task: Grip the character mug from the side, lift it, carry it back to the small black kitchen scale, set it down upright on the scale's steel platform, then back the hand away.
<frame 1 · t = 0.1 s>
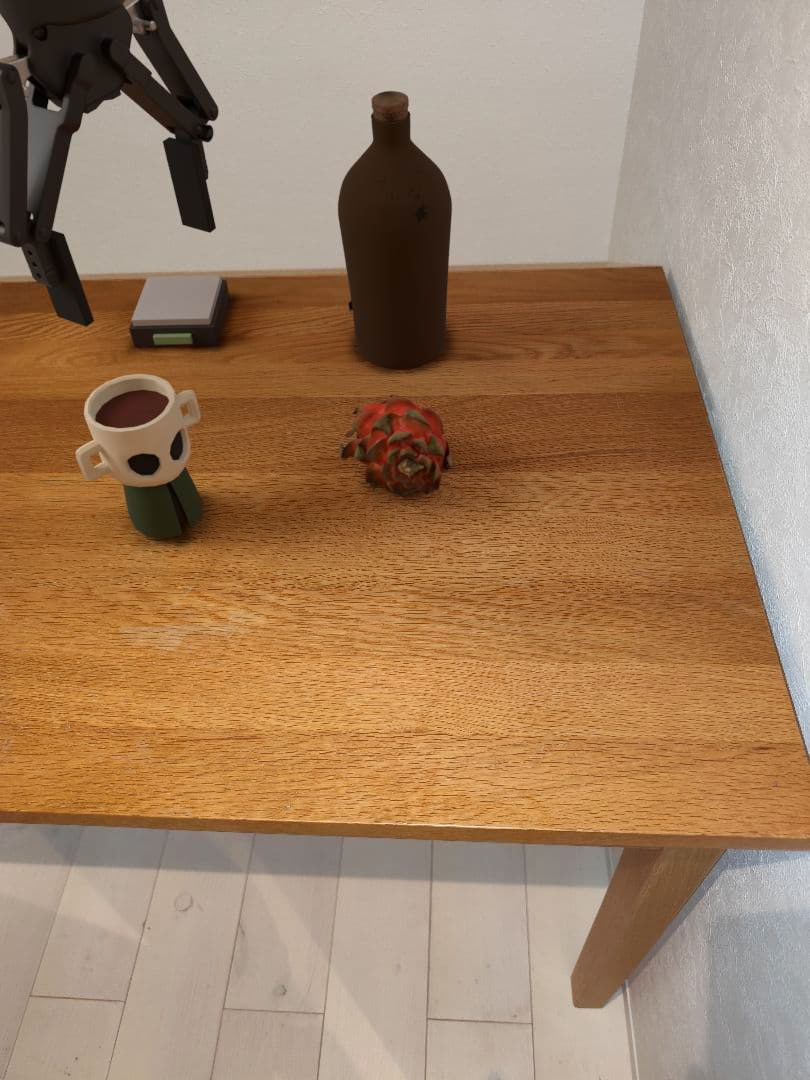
hand: (141, 270, 65), 22 cm above the table, tool pointing down, fingers open, 13 cm apart
dragon fruit: (397, 475, 81), on the table
olive oil: (400, 343, 95), on the table
character mug: (169, 518, 79), on the table
scale: (183, 322, 98), on the table
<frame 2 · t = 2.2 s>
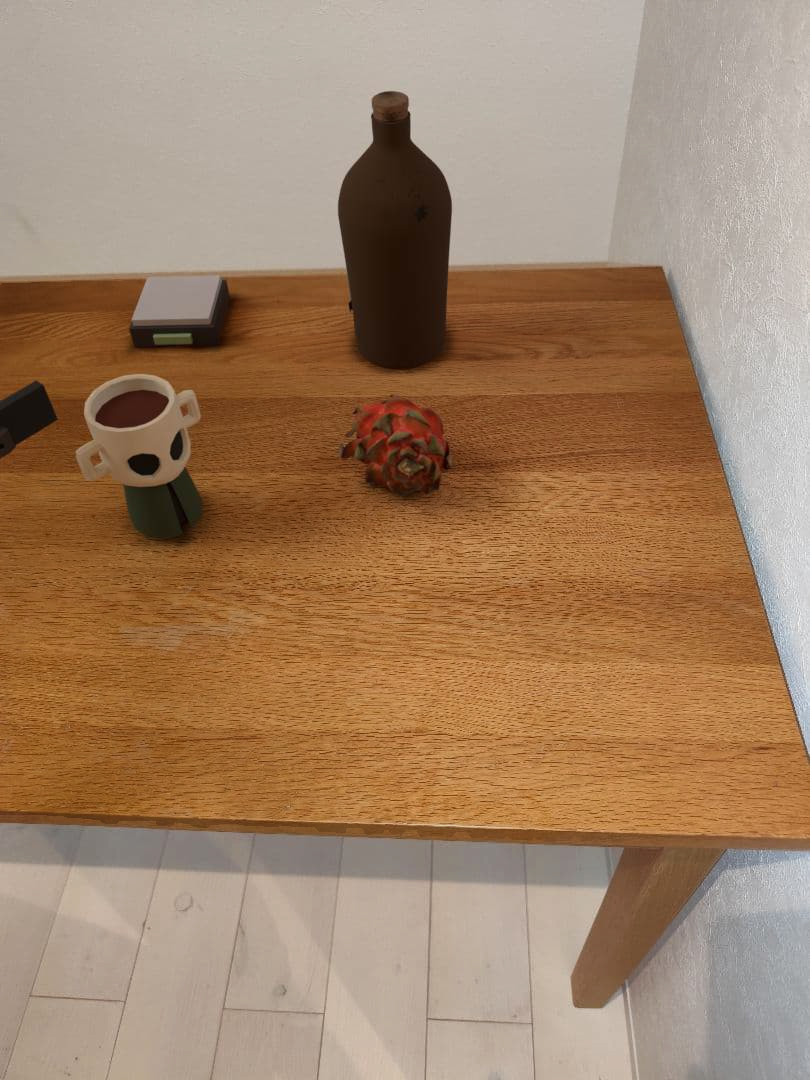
nothing on the table moved.
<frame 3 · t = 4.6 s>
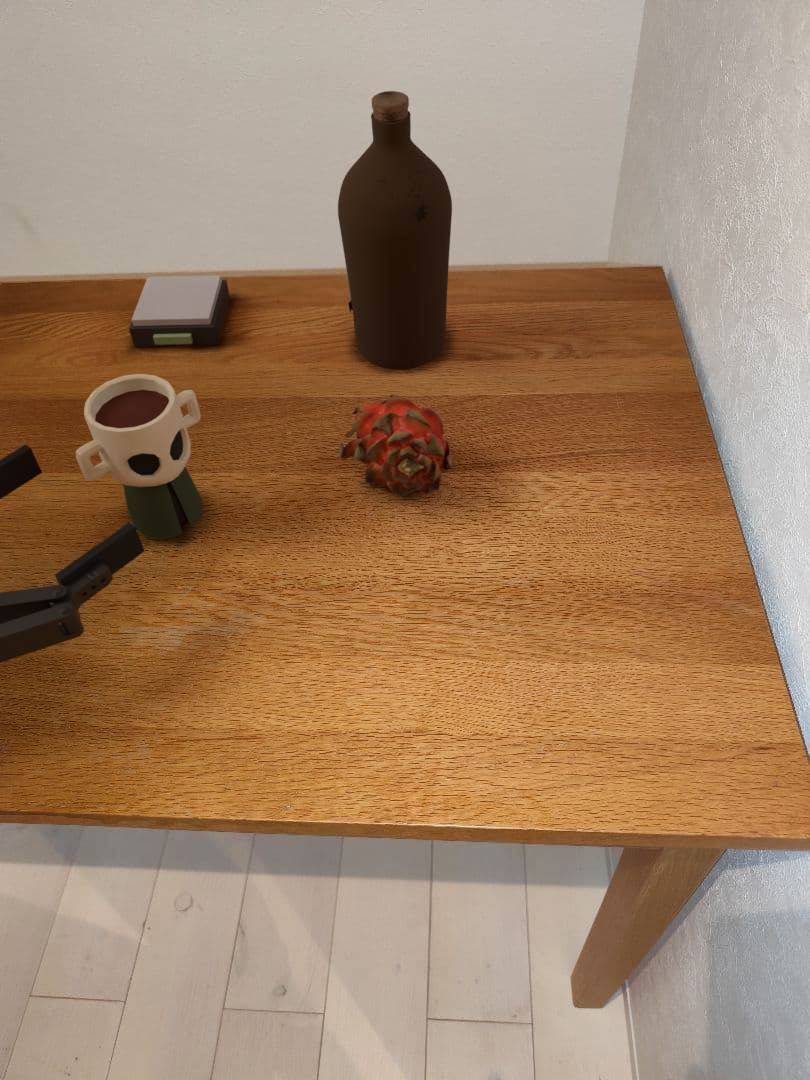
hand: (83, 495, 70), 8 cm above the table, tool horizontal, fingers open, 13 cm apart
nothing on the table moved.
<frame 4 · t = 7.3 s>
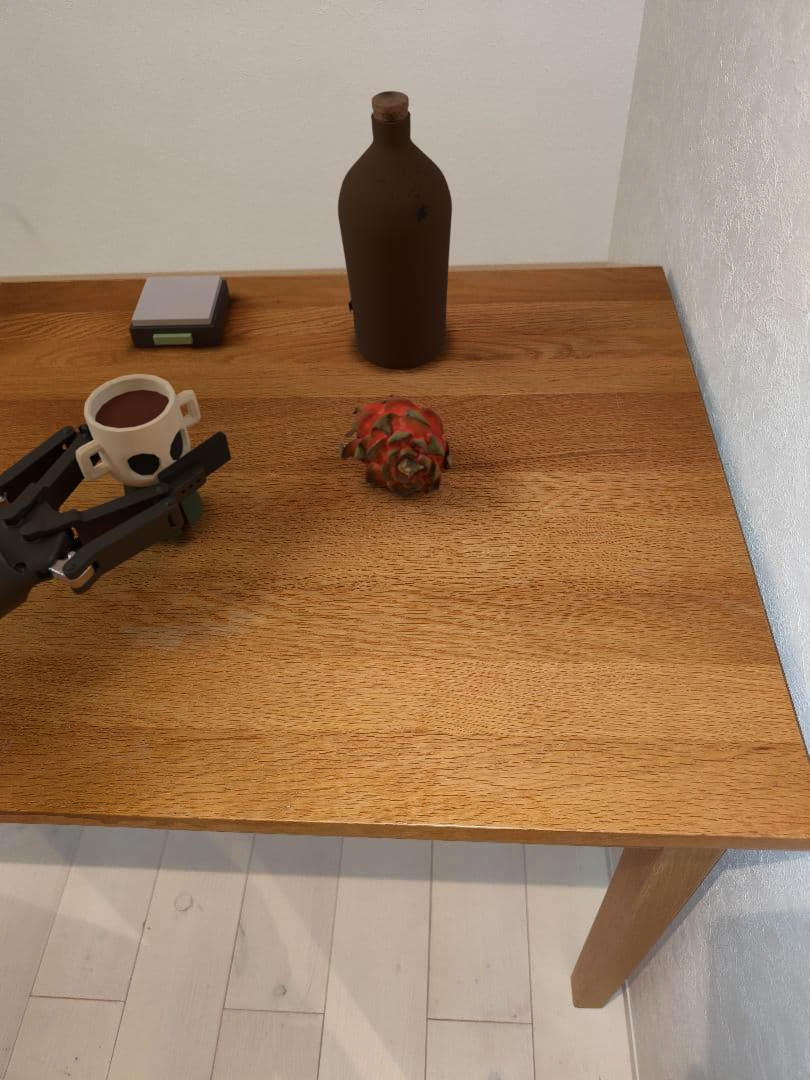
hand: (194, 425, 75), 7 cm above the table, tool horizontal, fingers closed on character mug, 7 cm apart
character mug: (169, 518, 79), on the table, touching gripper
everything else where it was.
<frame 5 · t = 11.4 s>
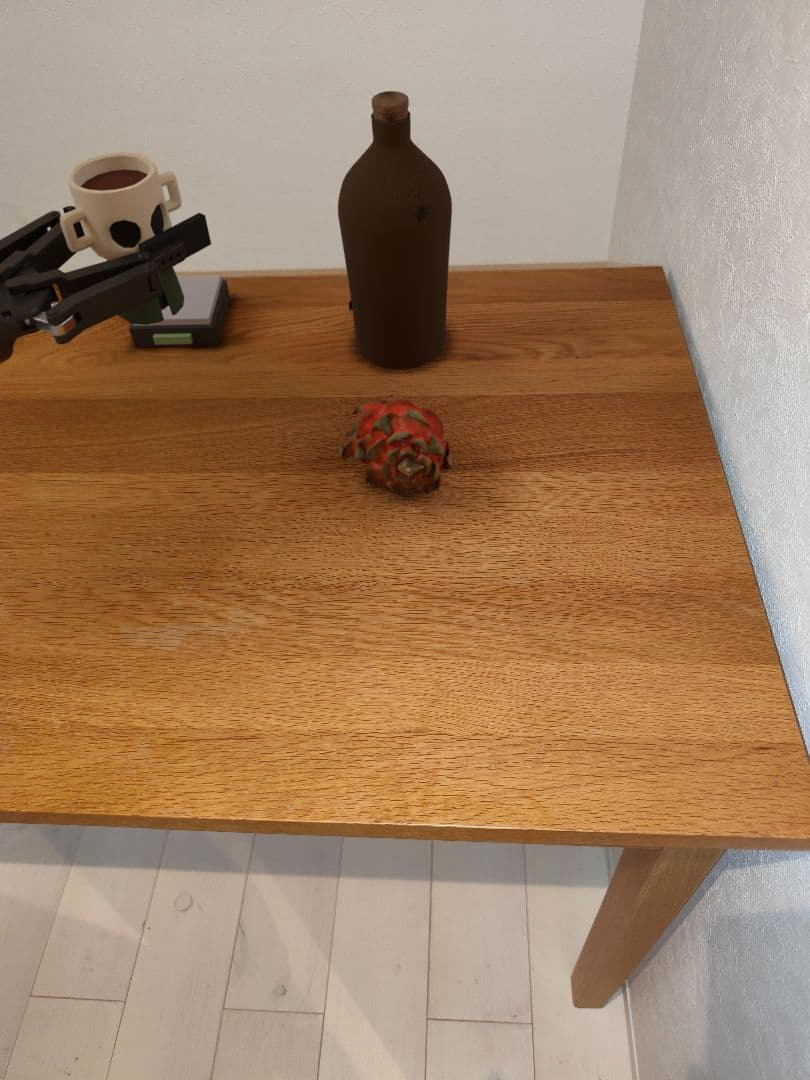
hand: (175, 214, 78), 18 cm above the table, tool horizontal, fingers closed on character mug, 7 cm apart
character mug: (152, 312, 82), point 10 cm above the table, touching gripper
everything else where it was.
when the fingers open (10 cm above the table, at t = 15.6 s): character mug stays where it is, resting on scale.
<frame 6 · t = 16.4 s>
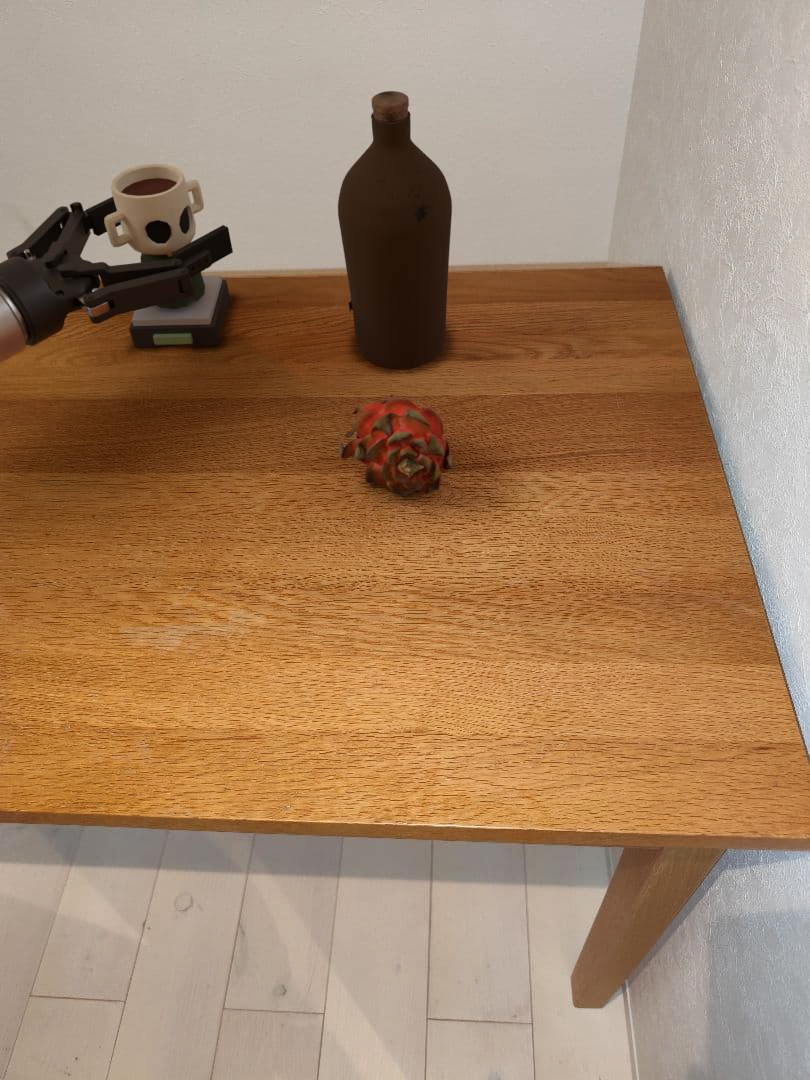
hand: (184, 217, 92), 11 cm above the table, tool horizontal, fingers open, 13 cm apart
character mug: (177, 298, 96), point 3 cm above the table, touching scale
everything else where it was.
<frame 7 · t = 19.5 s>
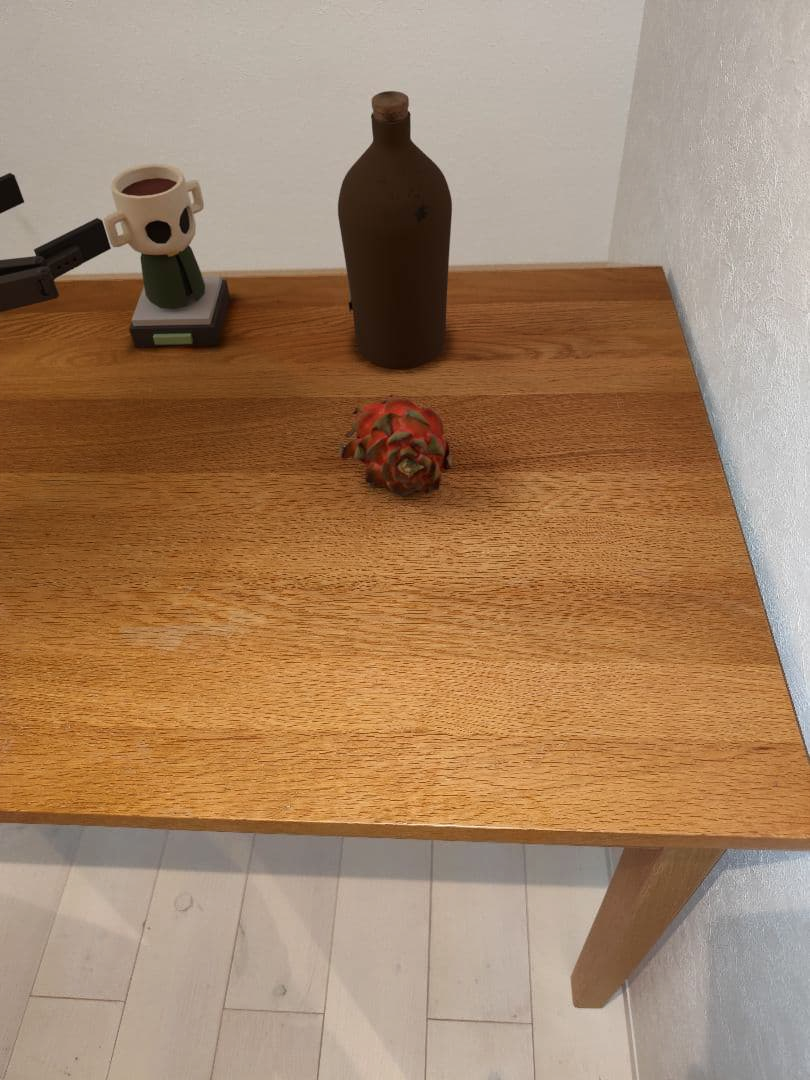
hand: (59, 209, 82), 17 cm above the table, tool horizontal, fingers open, 13 cm apart
nothing on the table moved.
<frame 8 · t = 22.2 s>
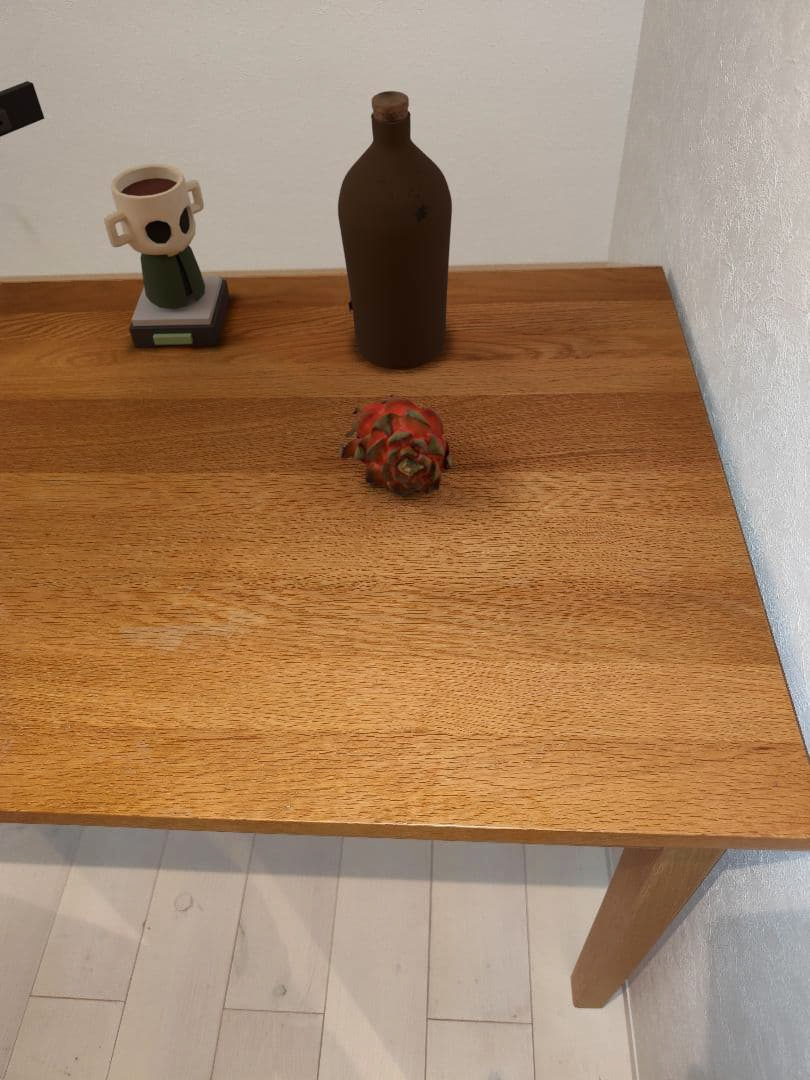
nothing on the table moved.
at the end: character mug 0.0 cm off-centre on the scale, point 3.0 cm above the scale's base; character mug tilted 0°; the gripper is holding nothing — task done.
